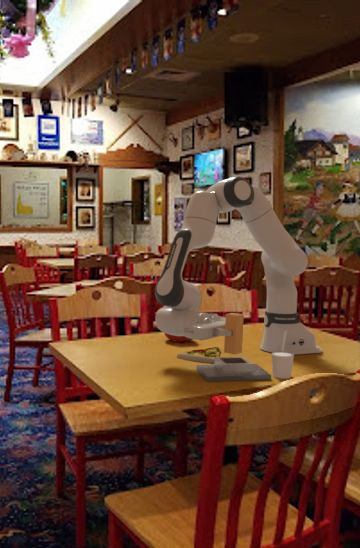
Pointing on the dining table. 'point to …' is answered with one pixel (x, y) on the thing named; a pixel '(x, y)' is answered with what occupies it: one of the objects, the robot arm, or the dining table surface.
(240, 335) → the orange rectangular block
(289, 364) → the white tapered cup
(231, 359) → the square socket plate
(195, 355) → the pizza slice
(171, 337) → the tomato
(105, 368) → the dining table surface
